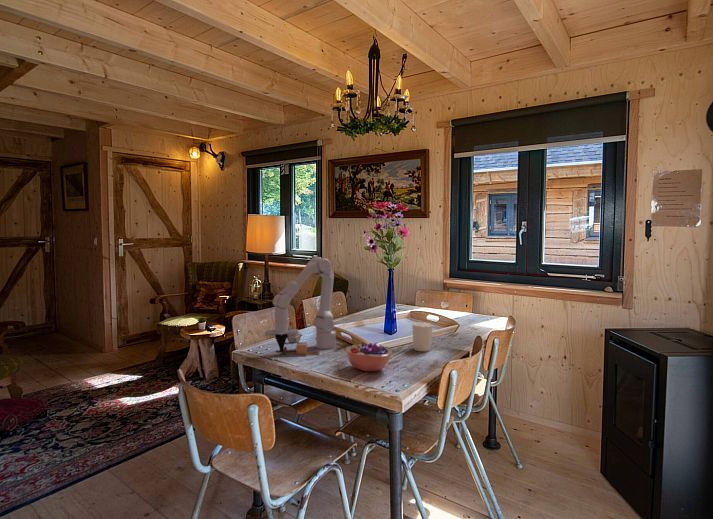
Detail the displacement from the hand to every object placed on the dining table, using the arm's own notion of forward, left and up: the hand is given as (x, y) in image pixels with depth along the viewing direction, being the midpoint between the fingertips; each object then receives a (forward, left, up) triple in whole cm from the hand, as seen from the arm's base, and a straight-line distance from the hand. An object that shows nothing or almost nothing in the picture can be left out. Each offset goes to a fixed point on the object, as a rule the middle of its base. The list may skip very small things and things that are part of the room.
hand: (281, 351), depth 194 cm
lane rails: (-4, 0, -3) cm, 5 cm away
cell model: (-37, +21, -3) cm, 42 cm away
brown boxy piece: (-9, 0, -3) cm, 9 cm away
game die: (-4, -21, -3) cm, 22 cm away
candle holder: (-66, -7, -3) cm, 66 cm away
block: (-9, 0, -1) cm, 9 cm away
